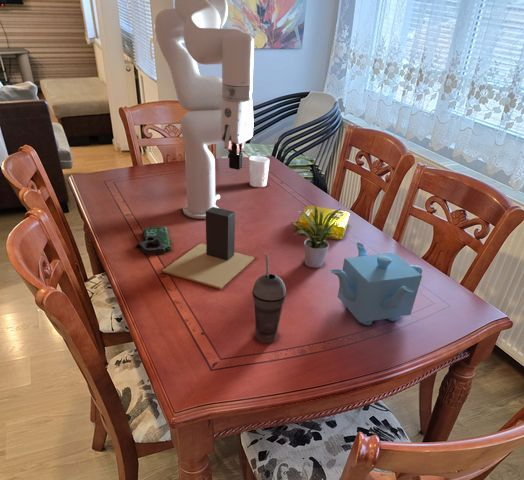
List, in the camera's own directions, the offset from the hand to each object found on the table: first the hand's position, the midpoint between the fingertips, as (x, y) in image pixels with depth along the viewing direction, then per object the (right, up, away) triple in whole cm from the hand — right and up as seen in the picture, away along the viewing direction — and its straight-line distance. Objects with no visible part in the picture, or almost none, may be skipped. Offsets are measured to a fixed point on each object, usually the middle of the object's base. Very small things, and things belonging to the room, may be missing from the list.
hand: (235, 168), depth 127 cm
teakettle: (+34, -41, -11) cm, 54 cm away
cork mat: (-7, -26, +4) cm, 27 cm away
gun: (-26, -17, +13) cm, 34 cm away
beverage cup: (+8, -47, -22) cm, 52 cm away
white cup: (+6, +16, +60) cm, 62 cm away
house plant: (+23, -24, +9) cm, 34 cm away
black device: (-5, -22, +8) cm, 24 cm away
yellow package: (+28, -9, +29) cm, 41 cm away
